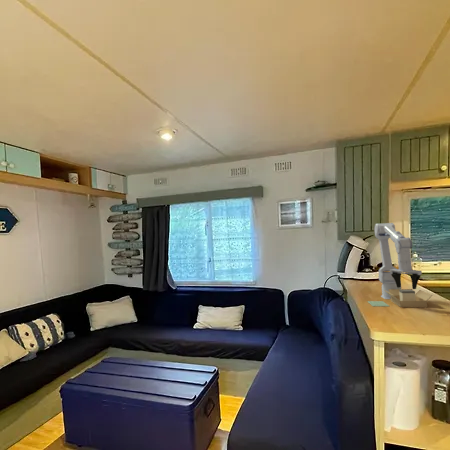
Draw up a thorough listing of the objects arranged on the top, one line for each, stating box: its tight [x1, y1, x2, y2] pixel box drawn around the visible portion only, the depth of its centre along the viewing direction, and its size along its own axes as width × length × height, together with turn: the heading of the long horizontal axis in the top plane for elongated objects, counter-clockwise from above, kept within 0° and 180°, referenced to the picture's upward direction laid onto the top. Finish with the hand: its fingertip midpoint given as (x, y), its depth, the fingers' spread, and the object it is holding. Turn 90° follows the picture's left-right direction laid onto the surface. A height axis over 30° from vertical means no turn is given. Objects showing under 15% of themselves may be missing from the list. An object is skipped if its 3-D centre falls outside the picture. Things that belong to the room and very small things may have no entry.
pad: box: [367, 300, 391, 307], centre depth 159 cm, size 12×8×1 cm, turn 167°
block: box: [399, 289, 416, 301], centre depth 156 cm, size 4×6×7 cm
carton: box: [384, 288, 433, 308], centre depth 158 cm, size 18×18×6 cm
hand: (406, 288), depth 152 cm, fingers open, 7 cm apart
